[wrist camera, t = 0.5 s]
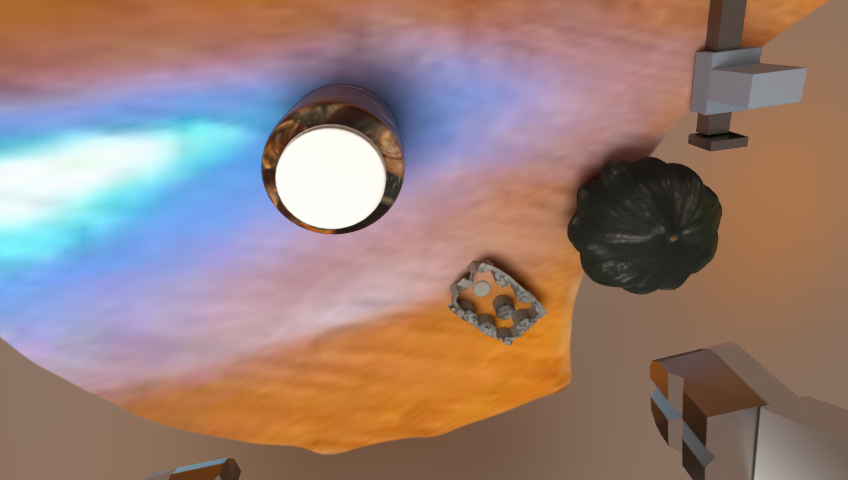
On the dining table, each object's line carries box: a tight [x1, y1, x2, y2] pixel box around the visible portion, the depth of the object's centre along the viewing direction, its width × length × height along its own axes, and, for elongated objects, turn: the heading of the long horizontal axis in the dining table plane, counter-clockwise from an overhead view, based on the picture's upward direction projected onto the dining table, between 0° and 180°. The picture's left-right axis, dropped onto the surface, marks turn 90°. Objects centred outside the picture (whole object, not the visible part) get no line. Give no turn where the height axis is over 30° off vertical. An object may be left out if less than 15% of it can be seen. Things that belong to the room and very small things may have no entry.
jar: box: [261, 84, 405, 234], centre depth 45 cm, size 12×12×15 cm
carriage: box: [690, 46, 807, 115], centre depth 49 cm, size 6×5×9 cm
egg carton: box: [448, 259, 547, 345], centre depth 60 cm, size 11×8×4 cm
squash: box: [567, 157, 722, 294], centre depth 52 cm, size 14×15×15 cm
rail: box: [688, 0, 748, 151], centre depth 49 cm, size 23×4×4 cm, turn 6°
